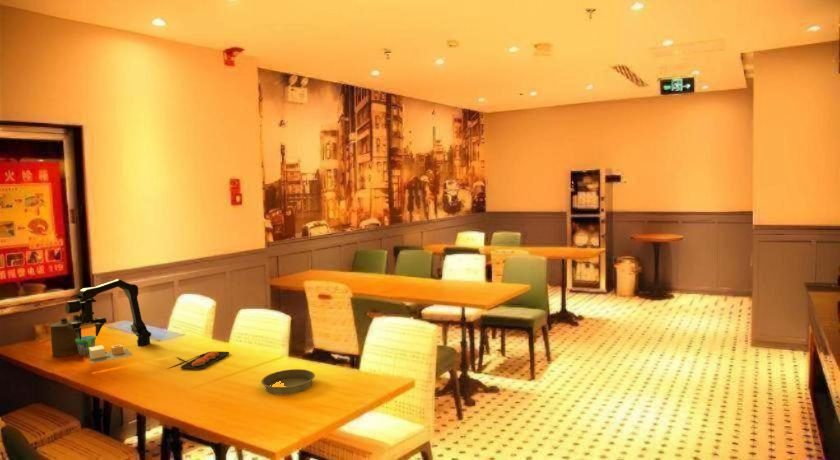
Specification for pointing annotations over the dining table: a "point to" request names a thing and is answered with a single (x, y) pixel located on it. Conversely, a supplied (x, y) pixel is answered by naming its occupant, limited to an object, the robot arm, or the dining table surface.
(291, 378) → the cake pan
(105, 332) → the dining table surface
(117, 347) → the orange hollow square block
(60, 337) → the dark grey canister
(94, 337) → the snack cup
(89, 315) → the robot arm
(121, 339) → the dining table surface
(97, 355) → the cover
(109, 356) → the base plate
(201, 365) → the sushi plate
